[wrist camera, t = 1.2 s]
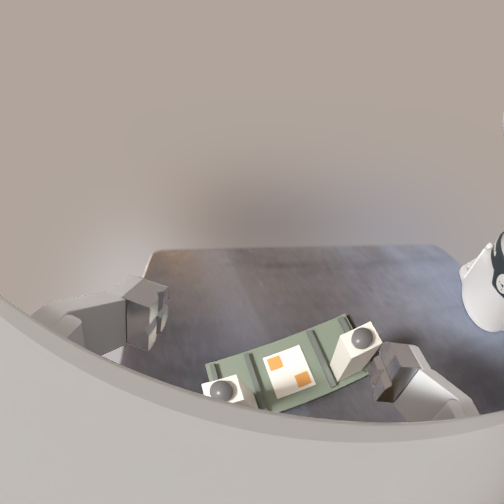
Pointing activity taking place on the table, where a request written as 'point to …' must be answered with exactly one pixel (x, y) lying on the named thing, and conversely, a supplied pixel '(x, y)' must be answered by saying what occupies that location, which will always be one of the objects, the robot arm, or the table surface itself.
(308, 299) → the table surface
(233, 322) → the table surface
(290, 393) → the switch unit
